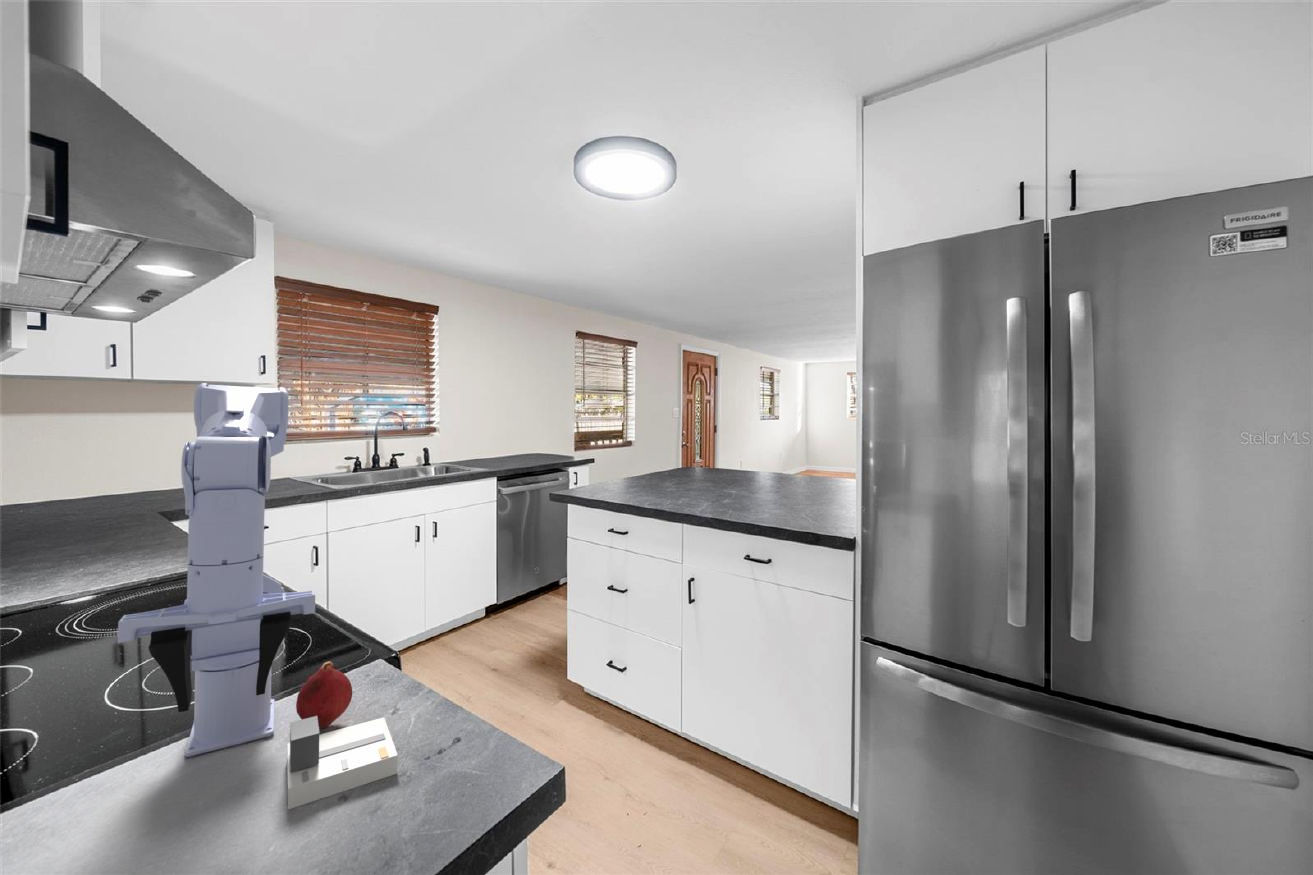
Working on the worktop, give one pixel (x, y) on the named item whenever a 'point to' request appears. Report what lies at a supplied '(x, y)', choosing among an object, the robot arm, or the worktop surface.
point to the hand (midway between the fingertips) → (224, 698)
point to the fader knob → (304, 743)
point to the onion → (324, 695)
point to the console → (344, 762)
